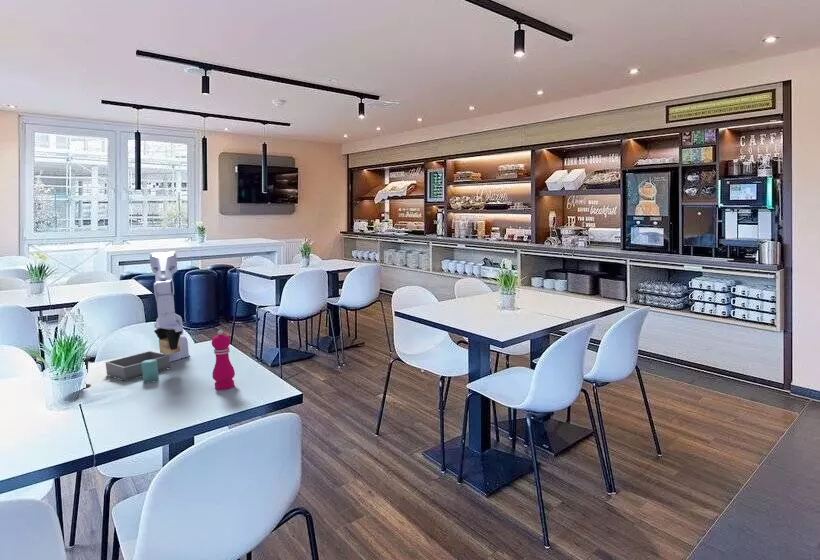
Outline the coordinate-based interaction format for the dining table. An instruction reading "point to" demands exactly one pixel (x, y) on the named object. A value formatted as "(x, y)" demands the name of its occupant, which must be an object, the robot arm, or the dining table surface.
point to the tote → (135, 365)
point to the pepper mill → (222, 362)
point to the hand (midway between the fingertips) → (169, 348)
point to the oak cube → (167, 347)
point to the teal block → (150, 370)
